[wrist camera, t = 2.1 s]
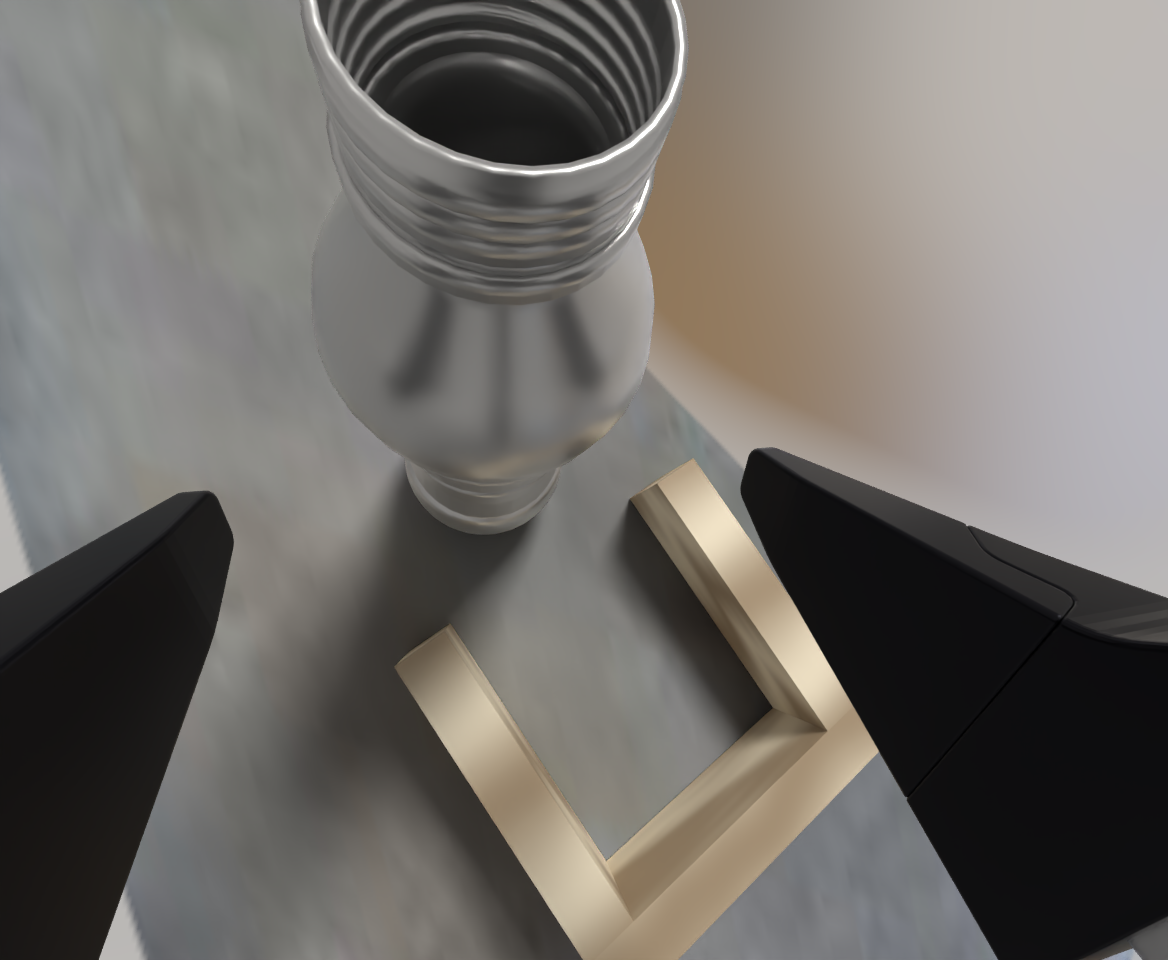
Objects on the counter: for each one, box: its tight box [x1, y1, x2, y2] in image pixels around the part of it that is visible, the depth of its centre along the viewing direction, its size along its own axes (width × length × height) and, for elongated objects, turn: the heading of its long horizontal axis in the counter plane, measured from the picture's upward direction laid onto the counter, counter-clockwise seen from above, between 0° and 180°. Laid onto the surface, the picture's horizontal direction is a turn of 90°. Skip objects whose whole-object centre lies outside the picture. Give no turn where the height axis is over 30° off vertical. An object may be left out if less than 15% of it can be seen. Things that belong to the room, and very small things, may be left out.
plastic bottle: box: [300, 0, 689, 535], centre depth 14 cm, size 6×7×20 cm
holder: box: [394, 458, 879, 960], centre depth 21 cm, size 14×14×4 cm
